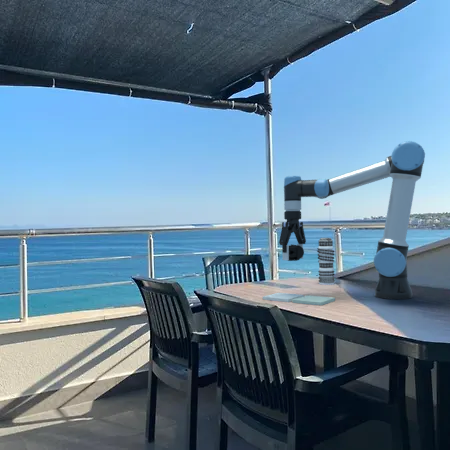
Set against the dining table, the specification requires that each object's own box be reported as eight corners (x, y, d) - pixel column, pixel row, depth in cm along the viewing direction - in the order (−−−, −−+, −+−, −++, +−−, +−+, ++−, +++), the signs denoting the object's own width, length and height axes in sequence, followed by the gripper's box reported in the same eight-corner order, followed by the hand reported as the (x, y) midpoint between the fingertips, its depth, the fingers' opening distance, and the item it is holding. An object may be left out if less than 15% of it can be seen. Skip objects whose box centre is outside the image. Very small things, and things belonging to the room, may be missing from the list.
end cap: (304, 260, 185) (304, 245, 185) (288, 261, 184) (288, 245, 184) (297, 258, 195) (297, 244, 195) (282, 259, 194) (282, 244, 194)
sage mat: (307, 297, 186) (307, 295, 186) (335, 300, 178) (335, 297, 178) (292, 302, 176) (292, 299, 176) (321, 305, 168) (321, 302, 168)
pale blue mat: (278, 295, 195) (278, 292, 195) (303, 297, 187) (303, 294, 187) (262, 299, 185) (262, 296, 185) (288, 302, 177) (288, 299, 177)
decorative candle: (314, 283, 233) (313, 237, 233) (329, 282, 236) (328, 237, 236) (323, 285, 224) (322, 238, 224) (338, 284, 227) (337, 237, 227)
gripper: (299, 211, 201) (299, 257, 201) (270, 210, 183) (271, 260, 183) (313, 210, 196) (313, 257, 196) (285, 209, 178) (285, 261, 178)
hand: (293, 259), depth 189 cm, fingers closed on end cap, 11 cm apart
